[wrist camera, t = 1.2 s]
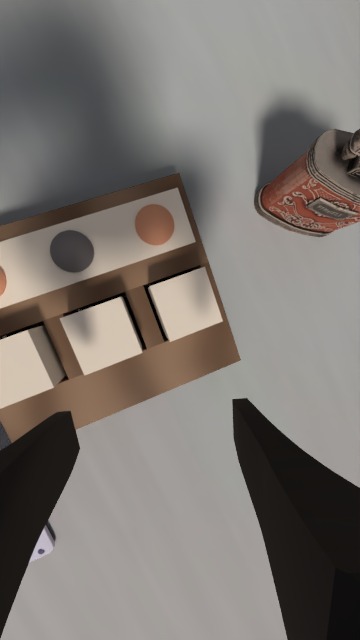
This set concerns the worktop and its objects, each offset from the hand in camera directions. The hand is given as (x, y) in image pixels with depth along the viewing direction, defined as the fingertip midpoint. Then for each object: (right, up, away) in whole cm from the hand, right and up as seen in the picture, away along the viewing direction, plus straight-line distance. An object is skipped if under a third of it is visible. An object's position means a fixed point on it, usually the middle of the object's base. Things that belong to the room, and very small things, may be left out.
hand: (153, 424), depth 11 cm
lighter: (+12, +14, +12) cm, 22 cm away
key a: (-10, +2, +7) cm, 12 cm away
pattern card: (-6, +9, +6) cm, 13 cm away
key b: (-4, +4, +8) cm, 10 cm away
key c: (+1, +6, +9) cm, 11 cm away
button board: (-5, +5, +9) cm, 12 cm away
